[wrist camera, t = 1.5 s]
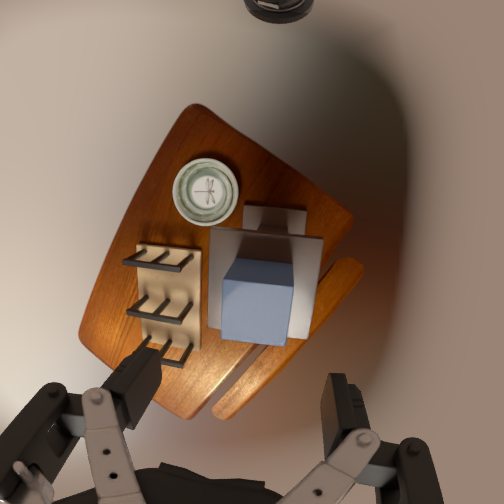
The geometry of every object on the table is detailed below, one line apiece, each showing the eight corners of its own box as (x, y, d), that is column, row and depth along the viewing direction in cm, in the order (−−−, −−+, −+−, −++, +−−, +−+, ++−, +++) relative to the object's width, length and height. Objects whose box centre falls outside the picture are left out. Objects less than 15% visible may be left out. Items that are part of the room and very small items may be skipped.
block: (235, 257, 24) (222, 278, 19) (292, 263, 23) (294, 286, 19) (232, 309, 25) (220, 339, 20) (286, 315, 25) (285, 347, 20)
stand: (244, 204, 43) (210, 228, 23) (306, 210, 42) (323, 239, 23) (240, 263, 45) (207, 327, 26) (299, 269, 44) (307, 339, 25)
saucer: (171, 168, 42) (165, 168, 40) (232, 151, 41) (229, 150, 39) (186, 229, 45) (180, 232, 42) (247, 216, 43) (245, 218, 41)
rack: (139, 243, 46) (116, 254, 39) (202, 249, 45) (187, 263, 38) (145, 337, 51) (127, 358, 44) (201, 348, 50) (189, 373, 43)
